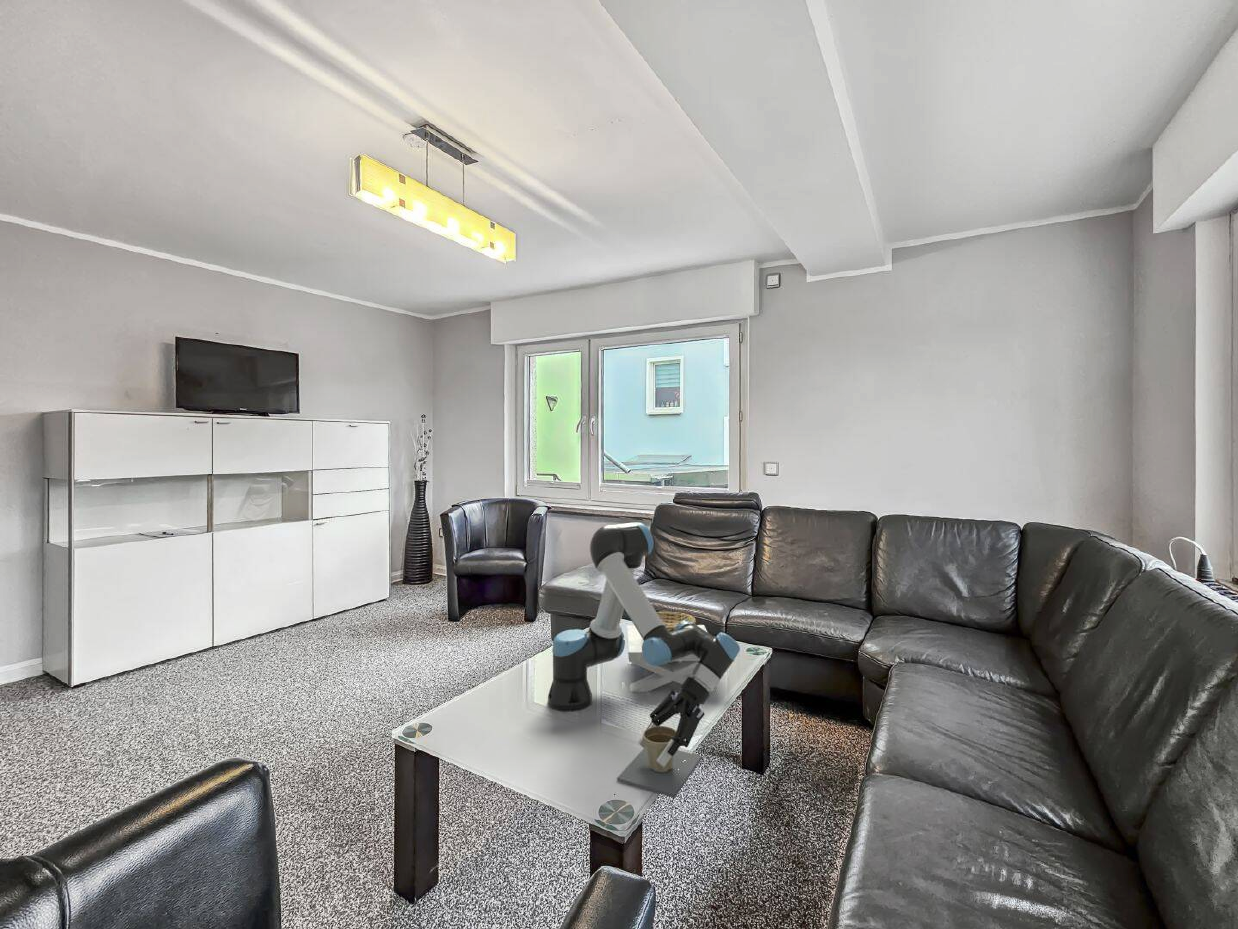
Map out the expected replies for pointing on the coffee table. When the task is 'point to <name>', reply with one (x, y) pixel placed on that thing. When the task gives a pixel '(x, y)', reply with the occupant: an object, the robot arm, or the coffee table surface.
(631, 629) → the white x-leg stand
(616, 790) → the coffee table surface
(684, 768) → the charcoal mat
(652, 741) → the flower pot
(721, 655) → the robot arm
